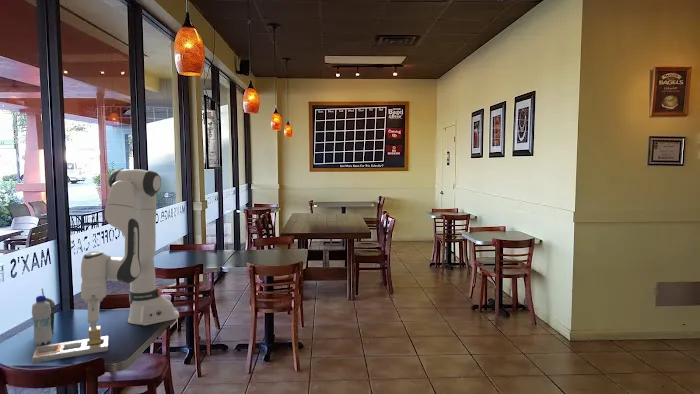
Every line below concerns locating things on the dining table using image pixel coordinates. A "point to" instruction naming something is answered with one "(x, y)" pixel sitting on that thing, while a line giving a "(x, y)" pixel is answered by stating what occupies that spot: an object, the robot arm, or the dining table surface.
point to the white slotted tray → (60, 349)
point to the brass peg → (95, 336)
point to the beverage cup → (51, 310)
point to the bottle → (42, 321)
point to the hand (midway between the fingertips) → (93, 326)
